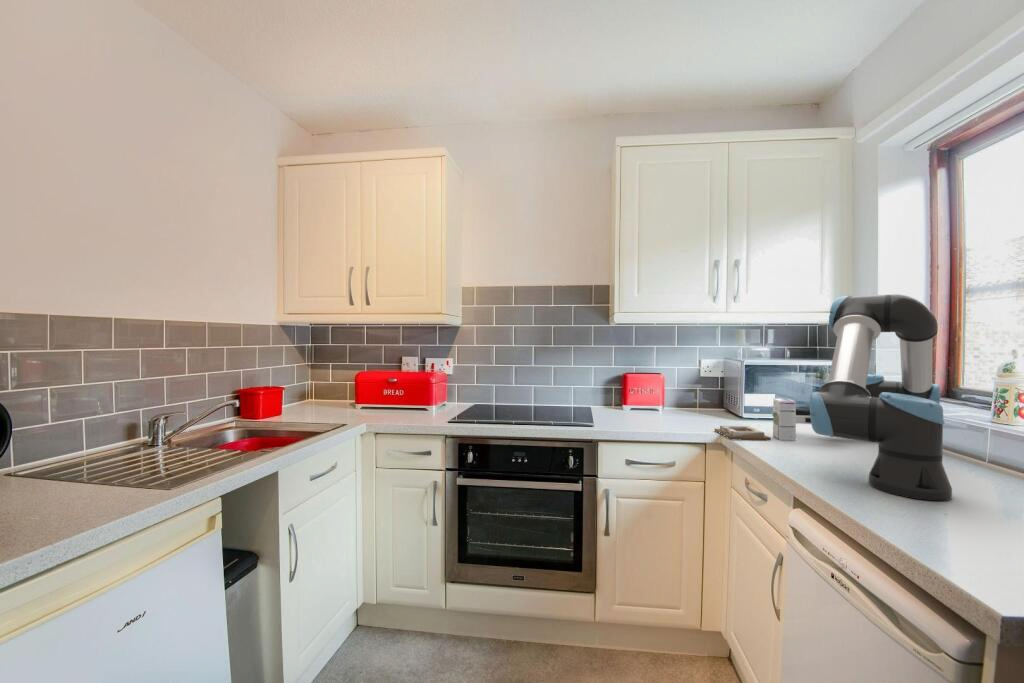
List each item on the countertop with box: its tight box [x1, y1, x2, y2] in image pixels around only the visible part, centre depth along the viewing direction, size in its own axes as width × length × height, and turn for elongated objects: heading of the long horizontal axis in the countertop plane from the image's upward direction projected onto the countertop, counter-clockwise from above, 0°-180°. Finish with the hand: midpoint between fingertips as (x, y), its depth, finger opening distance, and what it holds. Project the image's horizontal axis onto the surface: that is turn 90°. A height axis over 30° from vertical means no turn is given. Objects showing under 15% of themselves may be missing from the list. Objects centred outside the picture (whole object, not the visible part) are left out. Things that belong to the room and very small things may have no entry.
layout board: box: [714, 425, 772, 441], centre depth 164 cm, size 14×14×2 cm
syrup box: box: [772, 397, 797, 441], centre depth 159 cm, size 6×6×14 cm
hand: (783, 415), depth 160 cm, fingers open, 13 cm apart
